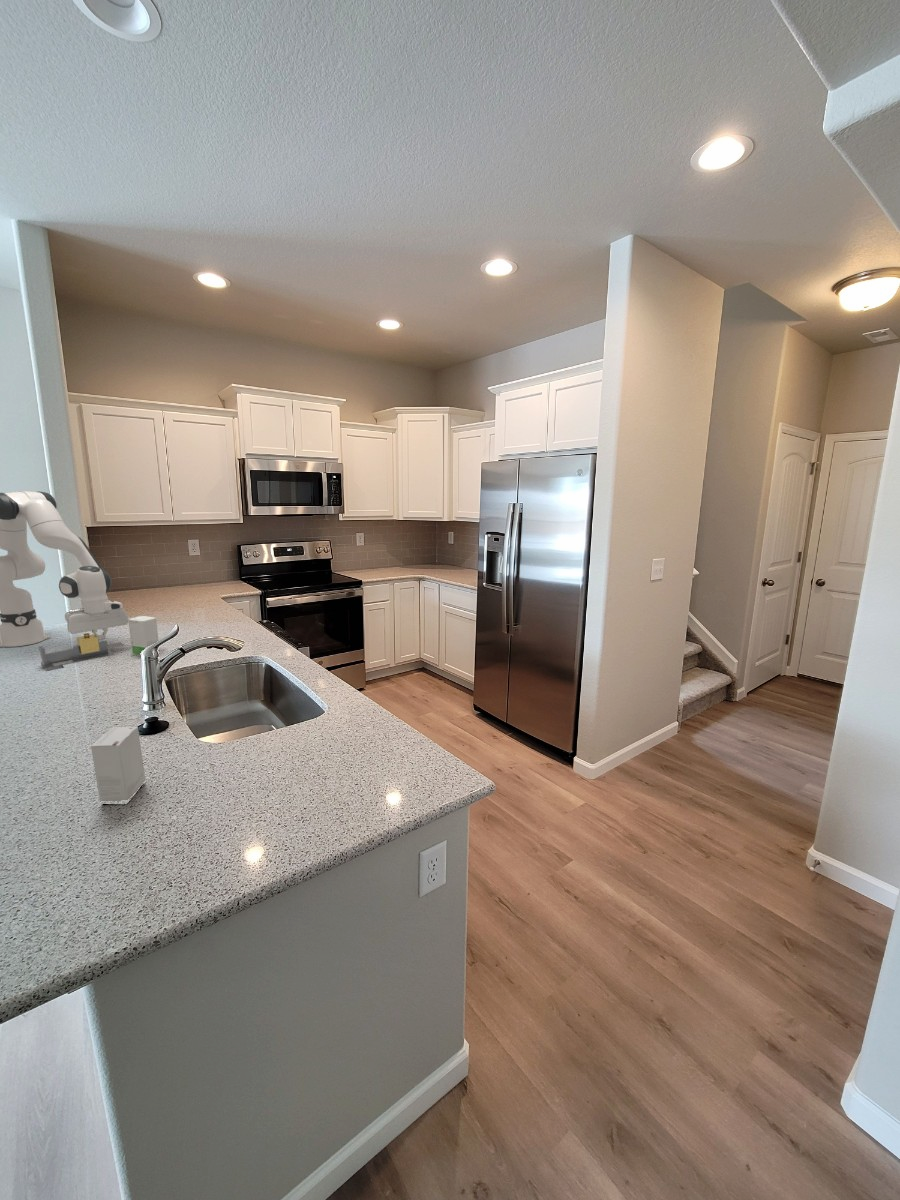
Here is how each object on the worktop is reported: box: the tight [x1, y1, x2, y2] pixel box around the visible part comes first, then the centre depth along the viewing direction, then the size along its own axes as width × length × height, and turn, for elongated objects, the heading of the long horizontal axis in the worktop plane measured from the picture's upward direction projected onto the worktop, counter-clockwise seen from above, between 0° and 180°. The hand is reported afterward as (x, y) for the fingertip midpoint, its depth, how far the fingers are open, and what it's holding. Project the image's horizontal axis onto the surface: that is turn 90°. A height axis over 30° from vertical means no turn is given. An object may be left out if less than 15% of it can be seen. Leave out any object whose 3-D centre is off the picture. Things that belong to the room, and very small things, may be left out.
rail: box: [38, 640, 115, 672], centre depth 194 cm, size 10×22×8 cm, turn 138°
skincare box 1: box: [90, 726, 146, 803], centre depth 108 cm, size 8×6×15 cm
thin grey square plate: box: [107, 642, 125, 649], centre depth 211 cm, size 6×7×1 cm
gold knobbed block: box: [76, 632, 100, 654], centre depth 196 cm, size 5×6×7 cm
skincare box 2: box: [128, 615, 159, 657], centre depth 201 cm, size 8×7×16 cm
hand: (101, 639), depth 200 cm, fingers closed
